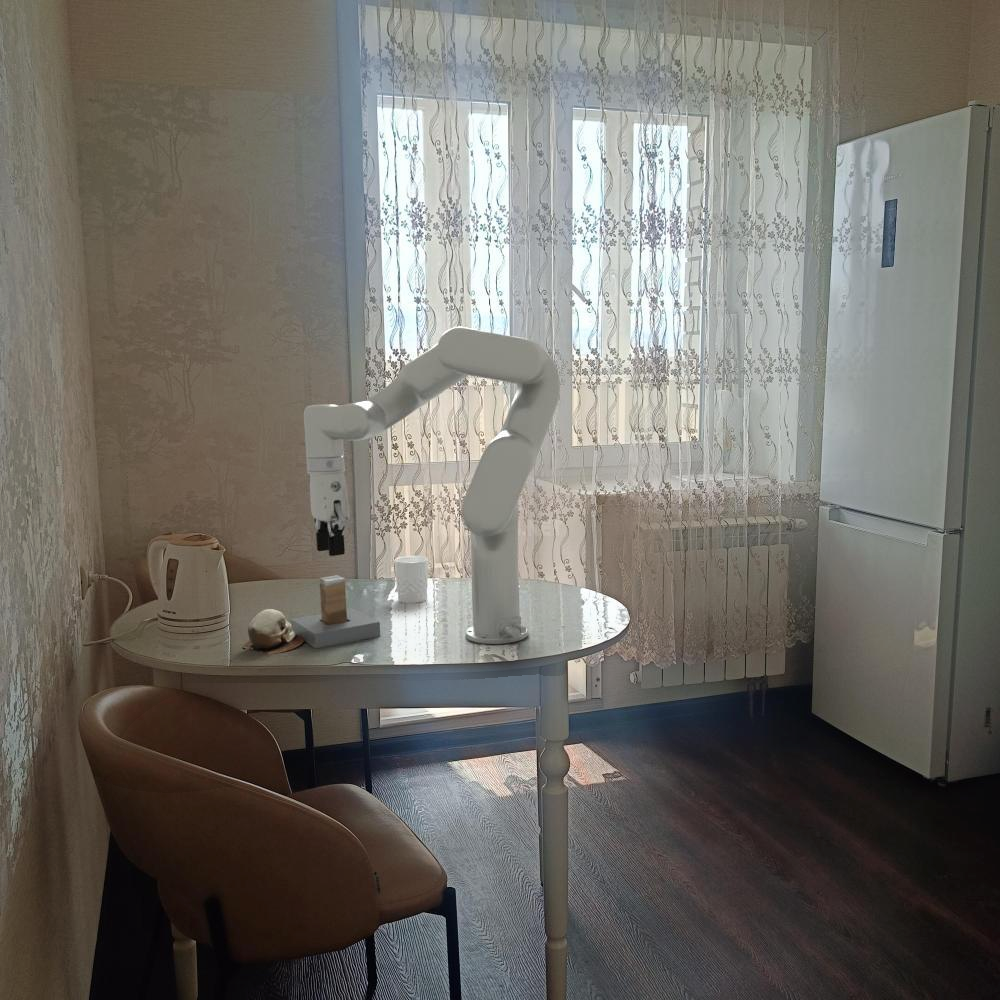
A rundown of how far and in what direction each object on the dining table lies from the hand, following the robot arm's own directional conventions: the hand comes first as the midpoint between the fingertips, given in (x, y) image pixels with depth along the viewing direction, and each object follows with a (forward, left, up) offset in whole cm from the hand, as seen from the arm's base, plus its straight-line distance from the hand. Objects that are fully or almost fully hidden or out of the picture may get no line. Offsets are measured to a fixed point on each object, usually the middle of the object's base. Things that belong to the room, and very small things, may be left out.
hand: (330, 551), depth 187 cm
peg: (0, 0, -18) cm, 18 cm away
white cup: (+16, -26, -18) cm, 35 cm away
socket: (0, 0, -18) cm, 18 cm away
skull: (+1, +13, -18) cm, 22 cm away
